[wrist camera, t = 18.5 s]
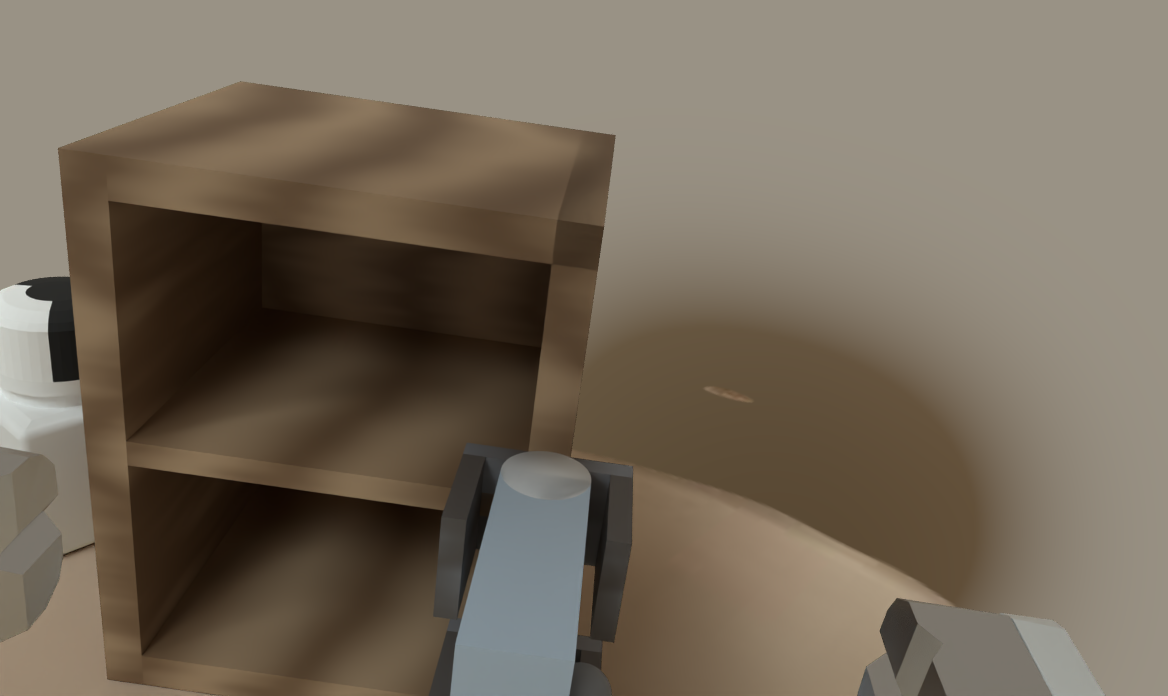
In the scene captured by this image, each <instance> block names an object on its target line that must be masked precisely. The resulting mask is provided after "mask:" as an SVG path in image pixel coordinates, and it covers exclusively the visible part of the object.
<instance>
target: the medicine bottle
mask: <svg viewBox="0 0 1168 696" xmlns="http://www.w3.org/2000/svg"><path fill="white" fill-rule="evenodd" d="M0 447H5V448H10V449H15V450H21V451H26V452H31V453H37V454H42V455H44V456H45V457H46V458H47V459H49V460H50V461H51V462H52V463H53V464H54V465H55V471H56V479H57V487H58V496H57V497H56V498H55V499H54V500H53V501H52V502H51V504H50V505H49V506H48V507H47V508H46V509H45V510H44V512H45V513H46V514H47V515H48V517H49V518H50V519H51V520H52V522H53V523H54V524H55V525H56V527H57V528H58V529H59V531H60V532H61V533H62V545H63V554H66V553H69V552H71V551H74V550H76V549H79V548H82V547H84V546H87V545H89V544H92V543H94V542H95V540H94V530H93V519H92V508H91V497H90V487H89V476H88V465H87V454H86V444H85V433H84V422H83V411H82V401H81V390H80V379H79V368H78V358H77V347H76V336H75V325H74V315H73V304H72V293H71V283H70V277H47V278H39V279H33V280H28V281H24V282H21V283H18V284H15V285H13V286H10V287H7V288H5V289H2V290H0Z"/></svg>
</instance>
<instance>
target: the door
mask: <svg viewBox="0 0 1168 696" xmlns="http://www.w3.org/2000/svg"><path fill="white" fill-rule="evenodd" d="M590 489H591V476H590V473H589V471H588V470H587V469H586V468H585V467H584V466H583V465H582V464H581V463H580V462H578V461H576V460H574V459H573V458H570V457H568V456H565V455H562V454H558V453H554V452H547V451H530V452H524V453H520V454H517V455H514V456H512V457H510V458H509V459H507V460H506V461H505V462H504V464H503V465H502V468H501V471H500V475H499V479H498V482H497V486H496V490H495V494H494V498H493V502H492V505H491V509H490V513H489V517H488V521H487V525H486V528H485V532H484V536H483V540H482V544H481V548H480V551H479V555H478V559H477V563H476V567H475V570H474V574H473V578H472V582H471V586H470V590H469V593H468V597H467V601H466V605H465V609H464V613H463V616H462V620H461V624H460V628H459V632H458V635H457V639H456V643H455V651H454V661H453V672H452V682H451V692H450V696H612V690H611V686H610V683H609V681H608V679H607V677H606V676H605V675H604V673H603V672H602V671H601V670H599V669H598V668H597V667H595V666H593V665H591V664H588V663H582V662H578V663H575V655H576V644H577V633H578V622H579V610H580V599H581V588H582V577H583V566H584V555H585V544H586V533H587V522H588V511H589V500H590Z"/></svg>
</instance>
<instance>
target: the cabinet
mask: <svg viewBox="0 0 1168 696" xmlns="http://www.w3.org/2000/svg"><path fill="white" fill-rule="evenodd" d="M614 144H615V135H610V134H603V133H596V132H589V131H582V130H575V129H568V128H561V127H554V126H548V125H540V124H534V123H526V122H520V121H512V120H505V119H498V118H492V117H485V116H478V115H471V114H463V113H457V112H450V111H443V110H436V109H429V108H422V107H415V106H408V105H401V104H394V103H387V102H380V101H373V100H366V99H359V98H352V97H346V96H339V95H331V94H324V93H317V92H311V91H304V90H297V89H289V88H283V87H276V86H269V85H262V84H255V83H248V82H241V81H240V82H238V83H235V84H232V85H229V86H227V87H224V88H221V89H219V90H216V91H213V92H210V93H208V94H205V95H202V96H199V97H197V98H194V99H191V100H188V101H186V102H183V103H180V104H178V105H175V106H172V107H169V108H166V109H164V110H161V111H158V112H156V113H153V114H150V115H147V116H145V117H142V118H139V119H136V120H134V121H131V122H128V123H126V124H123V125H120V126H117V127H114V128H112V129H109V130H106V131H104V132H101V133H98V134H96V135H93V136H90V137H87V138H84V139H81V140H79V141H76V142H74V143H71V144H68V145H65V146H63V147H60V148H58V154H59V164H60V175H61V186H62V197H63V207H64V218H65V228H66V240H67V250H68V261H69V271H70V283H71V293H72V304H73V315H74V325H75V336H76V347H77V358H78V368H79V379H80V390H81V401H82V411H83V422H84V433H85V444H86V454H87V465H88V476H89V487H90V497H91V508H92V519H93V530H94V540H95V551H96V562H97V573H98V583H99V594H100V605H101V616H102V626H103V637H104V648H105V659H106V669H107V679H109V680H116V681H123V682H130V683H137V684H144V685H151V686H158V687H165V688H172V689H179V690H186V691H193V692H201V693H208V694H215V695H222V696H450V692H451V682H452V672H453V661H454V651H455V643H456V639H457V635H458V632H459V628H460V624H461V620H462V616H463V613H464V609H465V605H466V601H467V597H468V593H469V590H470V586H471V582H472V578H473V574H474V570H475V567H476V563H477V559H478V555H479V551H480V548H481V544H482V540H483V536H484V532H485V528H486V525H487V521H488V517H489V513H490V509H491V505H492V502H493V498H494V494H495V490H496V486H497V482H498V479H499V475H500V471H501V468H502V465H503V464H504V462H505V461H506V460H507V459H509V458H510V457H512V456H514V455H517V454H520V453H524V452H530V451H547V452H554V453H558V454H562V455H565V456H568V457H570V458H571V451H572V444H573V437H574V436H573V435H574V430H575V423H576V416H577V409H578V402H579V395H580V388H581V382H582V375H583V368H584V360H585V354H586V347H587V340H588V333H589V326H590V319H591V313H592V305H593V299H594V292H595V285H596V278H597V271H598V264H599V258H600V251H601V244H602V237H603V230H604V223H605V215H606V207H607V199H608V191H609V183H610V176H611V168H612V159H613V152H614ZM573 459H574V460H576V461H578V462H580V463H581V464H582V465H583V466H584V467H585V468H586V469H587V470H588V471H589V473H590V476H591V489H590V500H589V511H588V522H587V533H586V544H585V555H584V565H591V566H595V578H594V592H593V606H592V620H591V633H590V637H587V636H580V635H577V644H576V655H575V663H578V662H582V663H588V664H591V665H593V666H595V667H597V668H598V669H599V670H601V658H602V641H607V642H614V639H615V633H616V628H617V622H618V617H619V611H620V606H621V600H622V595H623V589H624V584H625V579H626V573H627V568H628V562H629V557H630V551H631V546H632V501H633V466H627V465H620V464H613V463H606V462H599V461H592V460H585V459H578V458H573Z"/></svg>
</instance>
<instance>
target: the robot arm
mask: <svg viewBox="0 0 1168 696" xmlns="http://www.w3.org/2000/svg"><path fill="white" fill-rule="evenodd" d="M57 496H58V487H57V479H56V471H55V465H54V464H53V463H52V462H51V461H50V460H49V459H47V458H46V457H45V456H44V455H42V454H37V453H31V452H26V451H21V450H15V449H10V448H5V447H0V642H3V641H5V640H7V639H9V638H11V637H14V636H16V635H18V634H20V633H22V632H25V631H27V630H28V629H29V628H30V627H31V626H32V625H33V623H34V622H35V621H36V620H37V618H38V617H39V616H40V615H41V614H42V612H43V611H44V610H45V609H46V607H47V605H48V603H49V601H50V598H51V596H52V594H53V592H54V590H55V587H56V585H57V583H58V581H59V578H60V571H61V565H62V559H63V545H62V533H61V532H60V531H59V529H58V528H57V527H56V525H55V524H54V523H53V522H52V520H51V519H50V518H49V517H48V515H47V514H46V513H45V512H44V510H45V509H46V508H47V507H48V506H49V505H50V504H51V502H52V501H53V500H54V499H55V498H56V497H57ZM880 633H881V636H882V639H883V642H884V646H885V649H886V652H887V653H885V654H884V655H882V656H881V657H879V658H878V659H876V660H875V661H874V662H872V663H871V664H869V665H868V666H866V669H865V673H864V676H863V679H862V682H861V685H860V688H859V691H858V695H857V696H1105V694H1104V692H1103V691H1102V689H1101V687H1100V686H1099V684H1098V682H1097V681H1096V679H1095V677H1094V676H1093V674H1092V672H1091V671H1090V669H1089V668H1088V666H1087V664H1086V662H1085V661H1084V659H1083V658H1082V656H1081V654H1080V653H1079V651H1078V649H1077V648H1076V646H1075V645H1074V643H1073V641H1072V639H1071V638H1070V636H1069V635H1068V633H1067V631H1066V630H1065V629H1064V628H1063V627H1062V626H1061V625H1059V624H1057V623H1056V622H1055V621H1054V620H1050V619H1043V618H1035V617H1028V616H1020V615H1013V614H1006V613H1000V614H995V613H989V612H983V611H976V610H970V609H964V608H957V607H951V606H944V605H938V604H932V603H925V602H919V601H912V600H906V599H900V598H897V599H896V600H895V601H894V603H893V604H892V605H891V606H890V608H889V609H888V610H887V613H886V616H885V618H884V621H883V623H882V626H881V629H880Z"/></svg>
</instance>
